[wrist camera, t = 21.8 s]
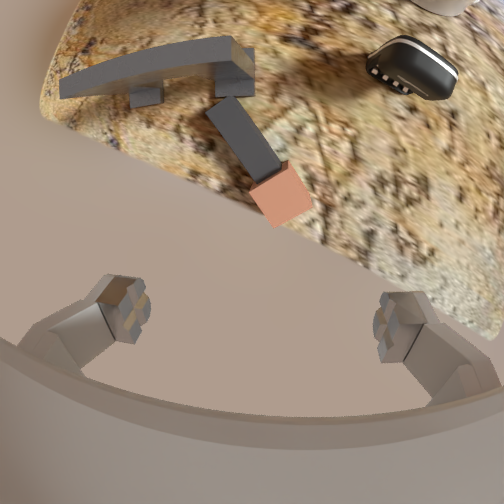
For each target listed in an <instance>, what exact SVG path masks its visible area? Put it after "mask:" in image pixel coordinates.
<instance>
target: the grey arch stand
mask: <svg viewBox="0 0 504 504" xmlns="http://www.w3.org/2000/svg"><path fill="white" fill-rule="evenodd" d="M193 75H197V76H200V77H204V78H207V79H210V80H213V81H215V97H228V96H255V49H254V48H241V47H240V45H239V44H238V43H237V42H236V41H235V39H234V38H233V37H232V36H220V37H211V38H203V39H196V40H189V41H183V42H178V43H173V44H167V45H163V46H158V47H154V48H150V49H146V50H142V51H138V52H134V53H131V54H127V55H124V56H120V57H117V58H114V59H111V60H108V61H105V62H102V63H99V64H96V65H94V66H91V67H88V68H86V69H83V70H81V71H78V72H76V73H74V74H71V75H69V76H67V77H64V78H62V79H60V80H59V90H60V99H66V98H75V97H85V96H98V95H117V94H129V96H130V108H137V107H142V106H148V105H154V104H160V103H164V93H163V80H166V79H172V78H178V77H185V76H193Z"/></svg>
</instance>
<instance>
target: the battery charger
mask: <svg viewBox="0 0 504 504" xmlns="http://www.w3.org/2000/svg"><path fill="white" fill-rule="evenodd" d="M366 70H367V72H368V74H369V75H371V76H372V77H374V78H376V79H377V80H379V81H381V82H383V83H384V84H386V85H388V86H390V87H391V88H393V89H395V90H396V91H398V92H400V93H402V94H404V95H409V94H411V93H413V92H414V93H416V94H417V95H418V96H420V97H421V98H423V99H425V100H432V101H434V100H445V99H448V98H449V97H450V96H451V94H452V92H453V90H454V87H455V84H456V83H457V81H458V71H457V69H456V68H455V67H454V66H453V65H452V64H451V63H450V62H448V61H447V60H446V59H445V58H443V57H442V56H441V55H439V54H438V53H437V52H435V51H434V50H433V49H431V48H430V47H428V46H427V45H425V44H424V43H422V42H421V41H419V40H417V39H416V38H413V37H411V36H407V35H400V36H397V37H395V38H393V39H391V40H389V41H388V42H386V43H385V44H384V45H382V46H381V47H380V48H379V49H377V50H375V51H374V52H371V53H370V55H369V56H368V60H367V64H366Z"/></svg>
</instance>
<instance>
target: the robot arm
mask: <svg viewBox="0 0 504 504" xmlns="http://www.w3.org/2000/svg"><path fill="white" fill-rule="evenodd" d="M411 1H412V2H414V3H415V4H417V5H419V6H420V7H422V8H424V9H426V10H428V11H431V12H433V13H436V14H439V15H443V16H456V15H459V14H461V13H462V12H463V11H464V10H465V9H466V8H467V7H468V6H469V5H471V4H476V3H477V2H479V1H480V0H411ZM145 289H146V286H145V284H144V280H142V279H141V278H136V277H129V276H121V275H112V274H107V275H104V276H103V277H102V278H101V280H100V281H99V282H98V283H97V284H96V285H95V287H94V288H93V289H92V290H91V291H90V293H89V294H88V295H87V296H86V298H85V299H84V300H79V301H77V302H75V303H73V304H71V305H69V306H67V307H65V308H63V309H61V310H59V311H58V312H56V313H54V314H52V315H50V316H48V317H46V318H44V319H43V320H41V321H39V322H37V323H35V324H33V326H32V327H31V328H30V329H29V331H28V332H27V333H26V335H25V336H24V337H23V338H22V340H21V341H20V343H19V344H18V345H17V346H15V345H14V344H12V343H10V342H8V341H6V340H5V339H3V338H1V337H0V504H504V386H502V385H501V383H500V381H499V378H498V376H497V373H496V371H495V369H494V367H493V364H492V363H491V360H490V358H489V357H487V356H486V355H485V354H484V353H482V352H481V351H480V350H479V349H477V348H476V347H475V346H474V345H472V344H471V343H470V342H468V341H467V340H466V339H465V338H463V337H462V336H461V335H459V334H458V333H457V332H456V331H454V330H453V329H451V328H450V327H449V326H448V325H446V324H445V323H440V321H439V319H438V317H437V315H436V313H435V311H434V309H433V307H432V305H431V303H430V301H429V299H428V297H427V296H426V294H425V293H424V292H423V291H410V292H383V294H382V295H381V298H380V305H381V307H380V308H379V309H378V310H377V311H376V313H375V316H374V320H373V332H374V337H375V339H377V340H378V341H379V342H380V343H379V345H378V348H377V349H378V353H379V357H380V361H381V363H398V362H403V364H404V365H405V366H406V368H407V369H408V370H409V371H410V372H411V373H412V374H413V376H414V377H415V378H416V379H417V380H418V381H419V383H420V384H421V385H422V386H423V387H424V389H425V390H426V391H427V392H428V393H429V394H430V396H431V397H432V398H433V399H432V400H431V401H430V402H429V403H428V404H427V405H426V406H425V407H423V408H417V409H411V410H405V411H398V412H390V413H382V414H372V415H360V416H344V417H282V416H264V415H253V414H242V413H234V412H225V411H218V410H211V409H204V408H199V407H193V406H188V405H182V404H178V403H173V402H168V401H164V400H159V399H156V398H152V397H147V396H144V395H140V394H136V393H132V392H129V391H126V390H122V389H119V388H116V387H113V386H110V385H107V384H104V383H101V382H98V381H95V380H92V379H89V378H87V377H86V376H85V375H84V374H83V373H82V371H81V370H80V369H81V368H82V367H84V366H85V365H86V364H87V363H89V362H90V361H91V360H93V359H94V358H95V357H96V356H98V355H99V354H100V353H102V352H103V351H104V350H105V349H107V348H108V347H109V346H111V345H112V344H113V343H114V342H115V341H119V342H124V343H130V344H135V343H136V341H137V339H138V337H139V335H140V334H141V332H142V330H141V326H142V325H143V324H145V323H146V322H147V321H148V319H149V317H150V311H151V303H150V300H149V297H148V296H147V295H146V294H145V293H144V290H145Z"/></svg>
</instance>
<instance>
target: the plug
mask: <svg viewBox="0 0 504 504" xmlns="http://www.w3.org/2000/svg"><path fill="white" fill-rule="evenodd" d="M205 113H206V115H207V116H208V117H209V119H210V120H211V121H212V123H213V124H214V125H215V127H216V128H217V129H218V131H219V132H220V133H221V135H222V136H223V138H224V139H225V140H226V142H227V143H228V144H229V146H230V147H231V149H232V150H233V151H234V153H235V154H236V156H237V157H238V158H239V160H240V161H241V163H242V164H243V165H244V167H245V168H246V170H247V171H248V173H249V174H250V175H251V177H252V178H253V180H254V182H253V184H252V186H251V188H250V191H249V194H250V195H251V196H252V198H253V199H254V201H255V202H256V204H257V205H258V207H259V208H260V209H261V211H262V212H263V214H264V215H265V217H266V218H267V220H268V221H269V222H270V224H271V225H272V227H273V228H276V227H277V226H279V225H281V224H283V223H285V222H287V221H288V220H290V219H292V218H294V217H296V216H298V215H299V214H301V213H303V212H305V211H307V210H309V209H310V208H312V203H311V198H310V194H309V192H308V190H307V189H306V187H305V186H304V184H303V182H302V181H301V179H300V178H299V176H298V174H297V173H296V171H295V170H294V168H293V166H292V165H291V163H290V162H289V160H287V161H286V162H284V163H281V161H280V160H279V158H278V157H277V155H276V154H275V152H274V151H273V149H272V148H271V146H270V145H269V144H268V142H267V141H266V139H265V138H264V136H263V135H262V133H261V132H260V131H259V129H258V128H257V126H256V125H255V123H254V122H253V121H252V119H251V118H250V116H249V115H248V114H247V112H246V111H245V110H244V108H243V107H242V106H241V104H240V103H239V101H238V100H237V99H236V97H233V96H228V97H226V98H225V99H223V100H222V101H220V102H219V103H218V104H216V105H215V106H213V107H212V108H211V109H209V110H208V111H207V112H205Z"/></svg>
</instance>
